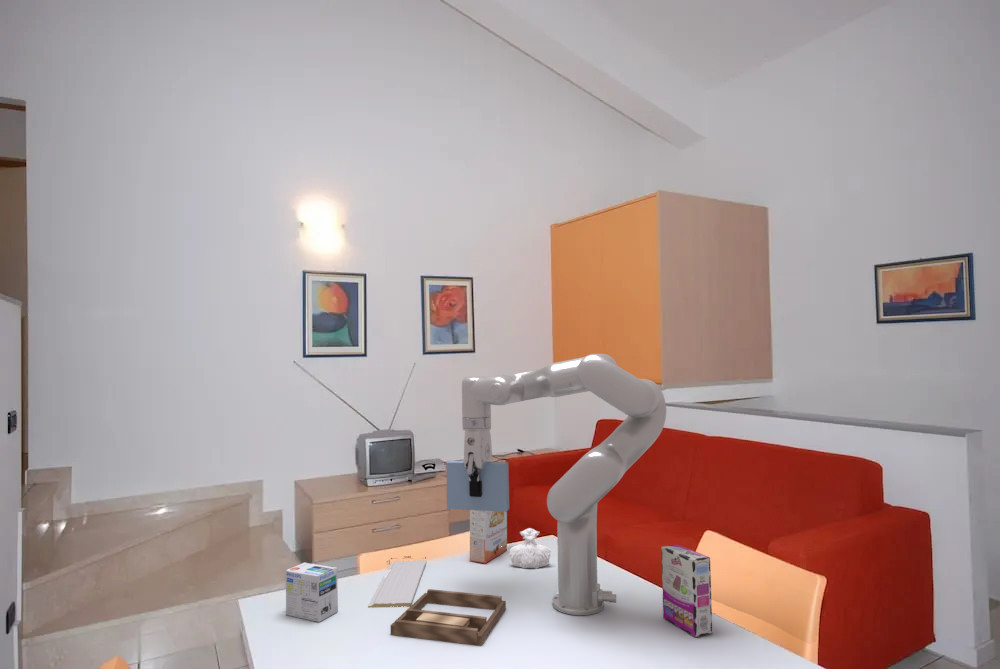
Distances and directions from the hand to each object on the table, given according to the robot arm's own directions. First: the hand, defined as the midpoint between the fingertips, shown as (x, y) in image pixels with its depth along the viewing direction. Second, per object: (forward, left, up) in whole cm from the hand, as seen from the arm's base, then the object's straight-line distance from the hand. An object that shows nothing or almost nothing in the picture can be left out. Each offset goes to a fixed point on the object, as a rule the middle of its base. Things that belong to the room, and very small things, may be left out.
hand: (478, 494), depth 156 cm
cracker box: (+6, -28, -25) cm, 38 cm away
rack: (+1, +17, -25) cm, 30 cm away
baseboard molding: (+24, -1, -26) cm, 35 cm away
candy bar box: (-51, +7, -25) cm, 58 cm away
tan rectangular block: (+1, +24, -26) cm, 35 cm away
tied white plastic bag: (-8, -23, -25) cm, 35 cm away
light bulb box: (+35, +22, -25) cm, 49 cm away
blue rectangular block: (0, 0, -4) cm, 4 cm away
